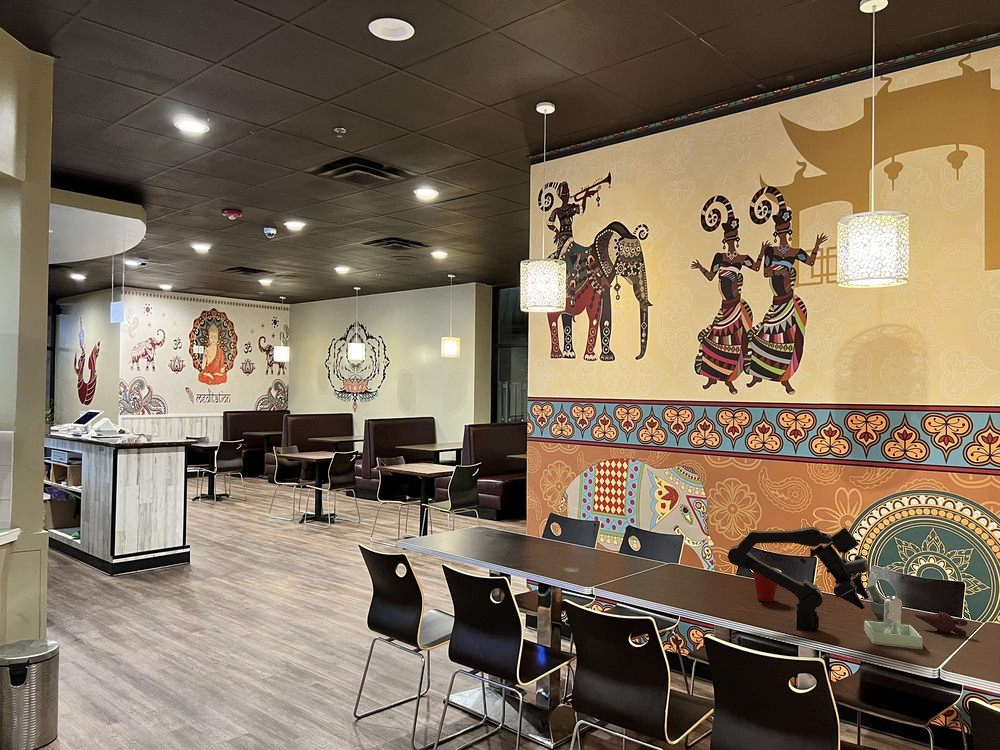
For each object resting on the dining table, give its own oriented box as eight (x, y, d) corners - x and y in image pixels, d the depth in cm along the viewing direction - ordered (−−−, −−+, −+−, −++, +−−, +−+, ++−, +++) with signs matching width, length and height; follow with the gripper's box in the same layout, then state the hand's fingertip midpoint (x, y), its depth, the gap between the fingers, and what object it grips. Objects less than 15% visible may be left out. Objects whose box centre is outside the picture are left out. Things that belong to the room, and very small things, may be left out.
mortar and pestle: (906, 623, 249) (906, 588, 249) (897, 629, 242) (897, 592, 243) (871, 616, 257) (871, 581, 257) (861, 621, 250) (862, 586, 251)
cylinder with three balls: (889, 640, 227) (890, 598, 228) (880, 635, 232) (881, 594, 233) (903, 640, 228) (905, 598, 228) (894, 635, 232) (895, 594, 233)
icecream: (913, 610, 242) (966, 624, 232) (917, 601, 247) (969, 613, 238) (912, 629, 243) (964, 643, 234) (916, 619, 249) (968, 633, 239)
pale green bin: (873, 644, 225) (873, 632, 225) (864, 631, 238) (864, 620, 238) (922, 649, 221) (922, 637, 222) (910, 636, 234) (910, 625, 235)
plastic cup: (783, 604, 269) (784, 572, 269) (753, 602, 271) (753, 569, 271) (778, 597, 279) (779, 565, 280) (749, 595, 281) (749, 563, 282)
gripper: (849, 558, 226) (884, 602, 222) (858, 541, 241) (891, 582, 237) (819, 575, 231) (852, 618, 227) (829, 557, 247) (861, 597, 242)
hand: (865, 603), depth 233 cm, fingers open, 9 cm apart
